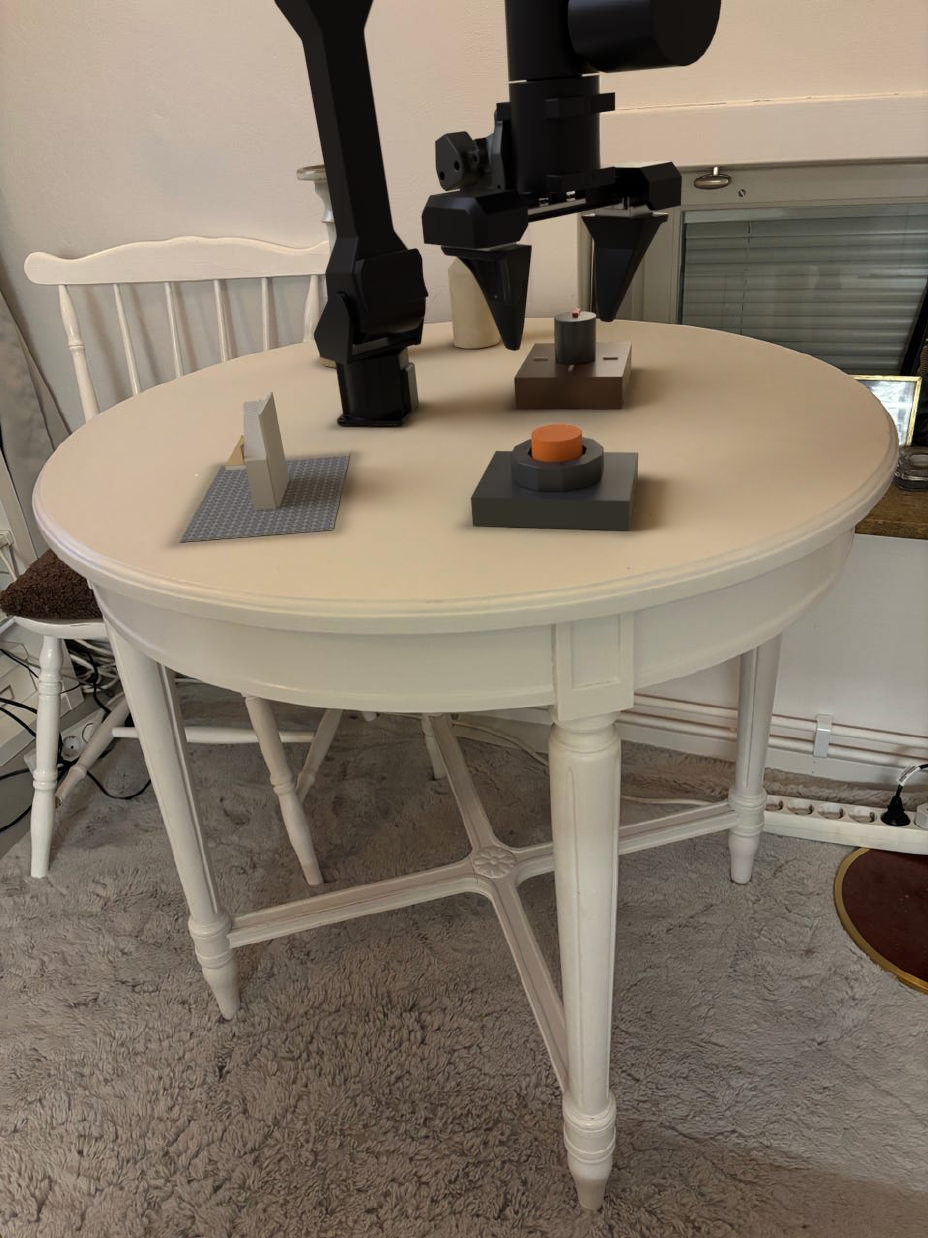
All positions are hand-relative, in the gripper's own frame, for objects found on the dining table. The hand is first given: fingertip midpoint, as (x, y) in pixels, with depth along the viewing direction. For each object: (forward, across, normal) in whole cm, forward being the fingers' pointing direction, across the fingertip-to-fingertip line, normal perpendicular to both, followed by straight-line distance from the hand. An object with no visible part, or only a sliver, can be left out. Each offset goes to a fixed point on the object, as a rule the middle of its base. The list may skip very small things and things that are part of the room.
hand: (561, 334), depth 64 cm
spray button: (+8, +3, +2) cm, 8 cm away
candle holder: (+11, -10, -45) cm, 47 cm away
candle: (+11, -23, -38) cm, 46 cm away
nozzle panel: (+11, -17, -16) cm, 26 cm away
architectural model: (+11, +17, -16) cm, 26 cm away
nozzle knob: (+8, -17, -16) cm, 25 cm away
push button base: (+11, +3, +2) cm, 12 cm away
